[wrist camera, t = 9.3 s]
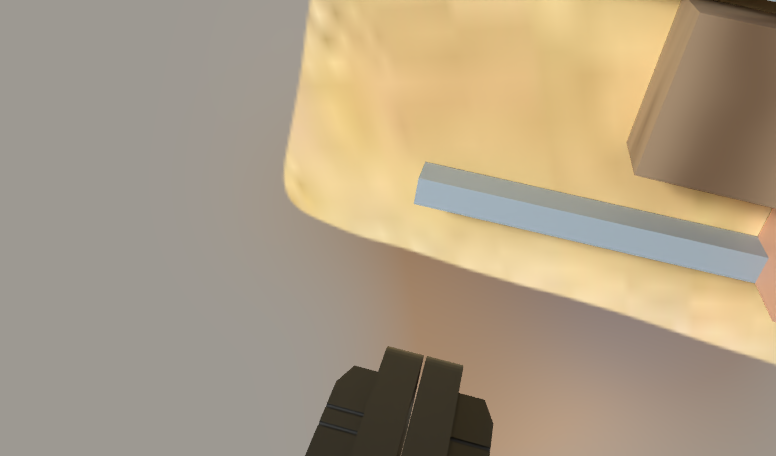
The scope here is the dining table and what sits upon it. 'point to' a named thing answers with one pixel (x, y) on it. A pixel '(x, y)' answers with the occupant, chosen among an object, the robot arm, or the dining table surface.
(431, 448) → the robot arm
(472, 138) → the dining table surface
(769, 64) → the block
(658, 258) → the guide track
